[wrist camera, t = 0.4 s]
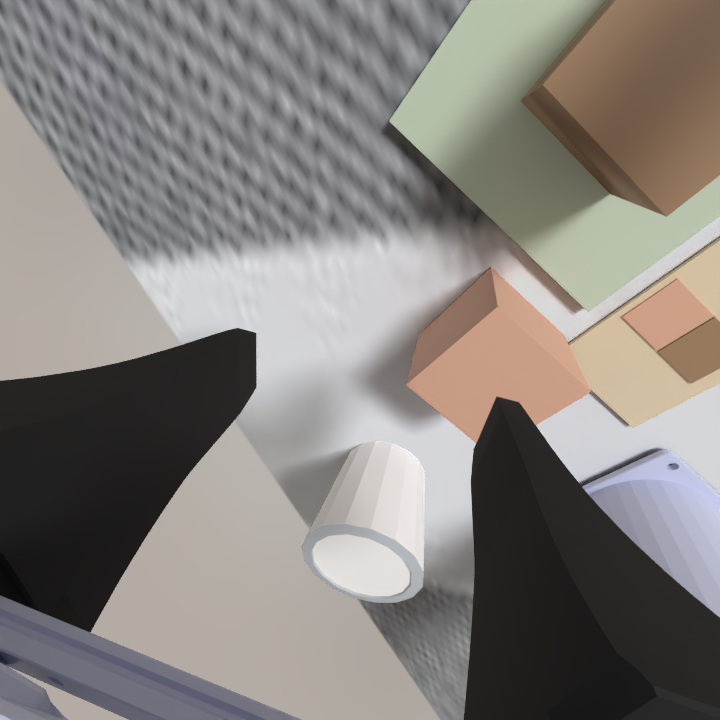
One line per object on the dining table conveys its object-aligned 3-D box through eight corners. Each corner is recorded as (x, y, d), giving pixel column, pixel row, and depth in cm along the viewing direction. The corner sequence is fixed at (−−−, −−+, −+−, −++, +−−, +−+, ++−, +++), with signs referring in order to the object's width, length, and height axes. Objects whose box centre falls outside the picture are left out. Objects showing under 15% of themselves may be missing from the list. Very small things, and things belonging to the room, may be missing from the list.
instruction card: (851, 311, 15) (858, 314, 15) (631, 425, 20) (633, 429, 20) (761, 208, 14) (766, 209, 14) (553, 354, 19) (554, 356, 19)
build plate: (958, 32, 11) (976, 29, 11) (585, 307, 17) (588, 311, 17) (702, -335, 9) (713, -358, 9) (391, 121, 16) (388, 120, 15)
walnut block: (759, 63, 12) (914, 23, 8) (610, 193, 15) (666, 216, 10) (658, -62, 11) (769, -179, 7) (520, 100, 14) (542, 84, 10)
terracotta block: (563, 333, 18) (591, 391, 14) (484, 390, 21) (488, 453, 17) (490, 266, 18) (497, 306, 13) (418, 334, 20) (405, 385, 16)
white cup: (343, 422, 25) (304, 510, 19) (446, 451, 24) (439, 553, 18) (332, 489, 28) (297, 580, 23) (421, 517, 27) (409, 619, 22)
